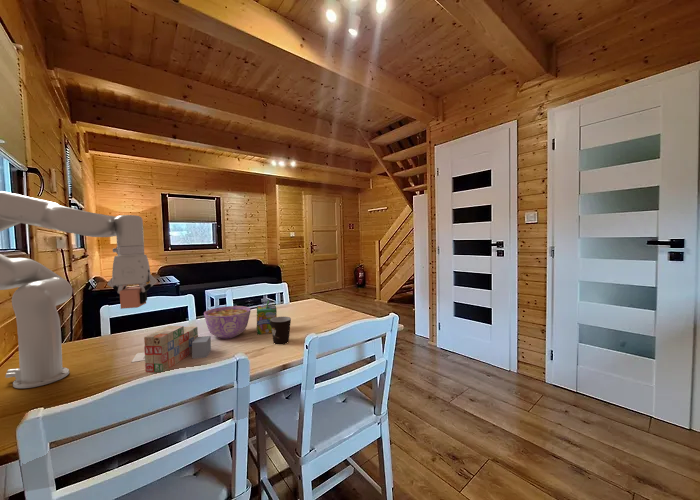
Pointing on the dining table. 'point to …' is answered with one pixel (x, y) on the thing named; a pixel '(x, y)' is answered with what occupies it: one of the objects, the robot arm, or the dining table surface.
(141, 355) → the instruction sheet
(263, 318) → the juice box
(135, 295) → the terracotta brick
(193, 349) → the slate brick
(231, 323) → the bowl of food
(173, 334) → the stack of blocks
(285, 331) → the coffee mug
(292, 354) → the dining table surface
